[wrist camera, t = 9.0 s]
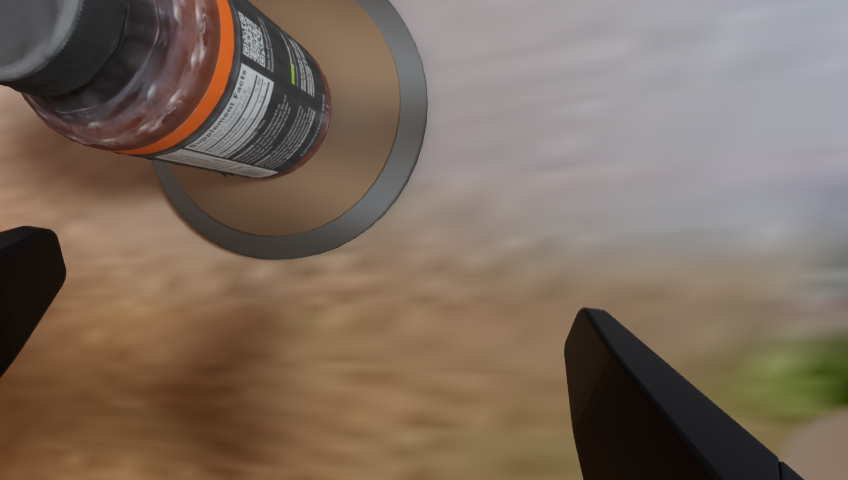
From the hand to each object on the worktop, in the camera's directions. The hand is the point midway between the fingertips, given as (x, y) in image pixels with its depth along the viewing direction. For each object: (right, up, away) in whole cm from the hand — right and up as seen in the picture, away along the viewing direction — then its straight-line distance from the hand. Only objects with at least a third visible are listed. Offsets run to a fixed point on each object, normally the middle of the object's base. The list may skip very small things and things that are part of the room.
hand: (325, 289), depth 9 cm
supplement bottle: (-5, +6, +13) cm, 15 cm away
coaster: (-5, +7, +13) cm, 16 cm away
